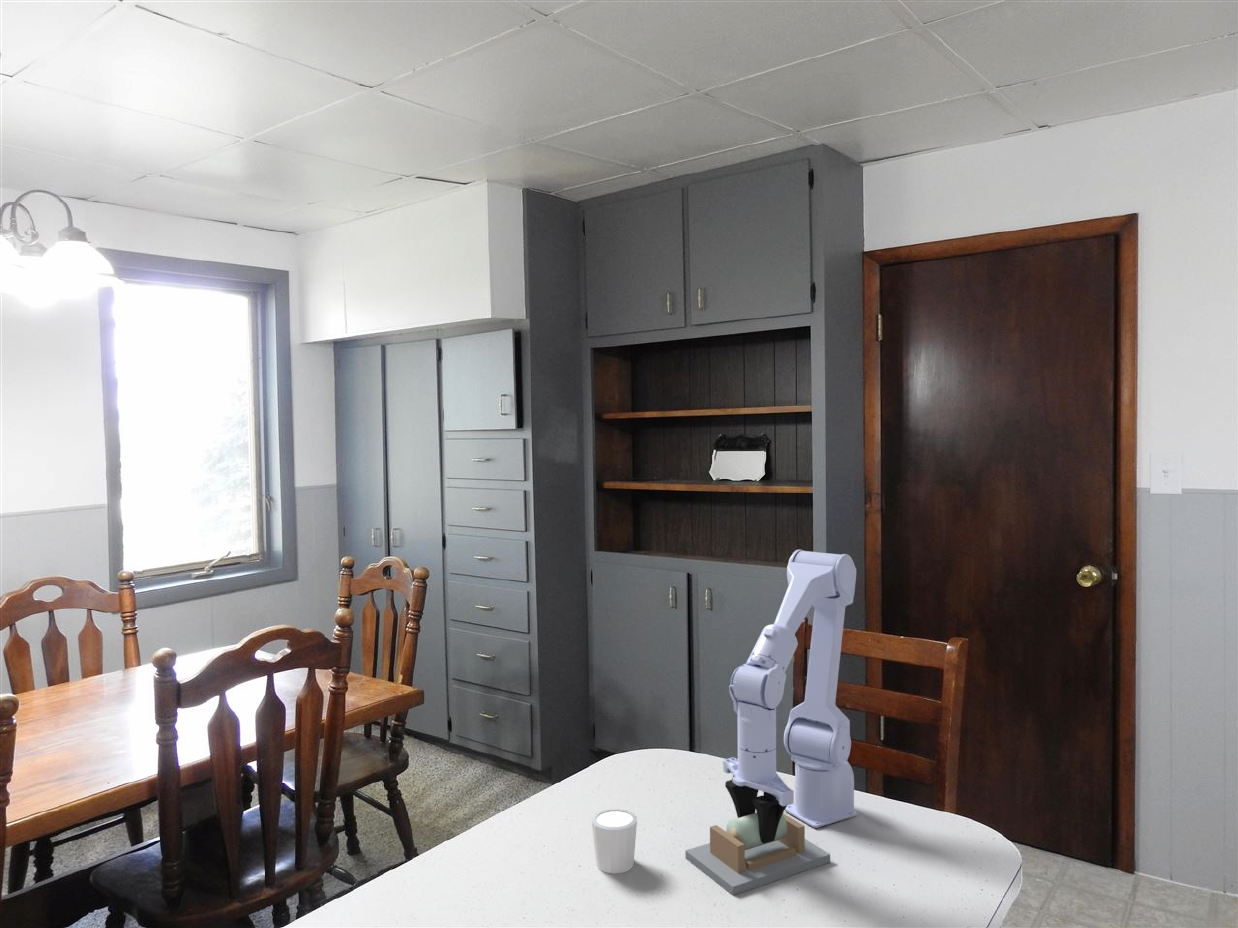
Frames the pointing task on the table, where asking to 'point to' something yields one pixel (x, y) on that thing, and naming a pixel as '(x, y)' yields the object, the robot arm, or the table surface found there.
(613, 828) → the white cup
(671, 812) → the table surface
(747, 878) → the holder
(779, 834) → the roll
